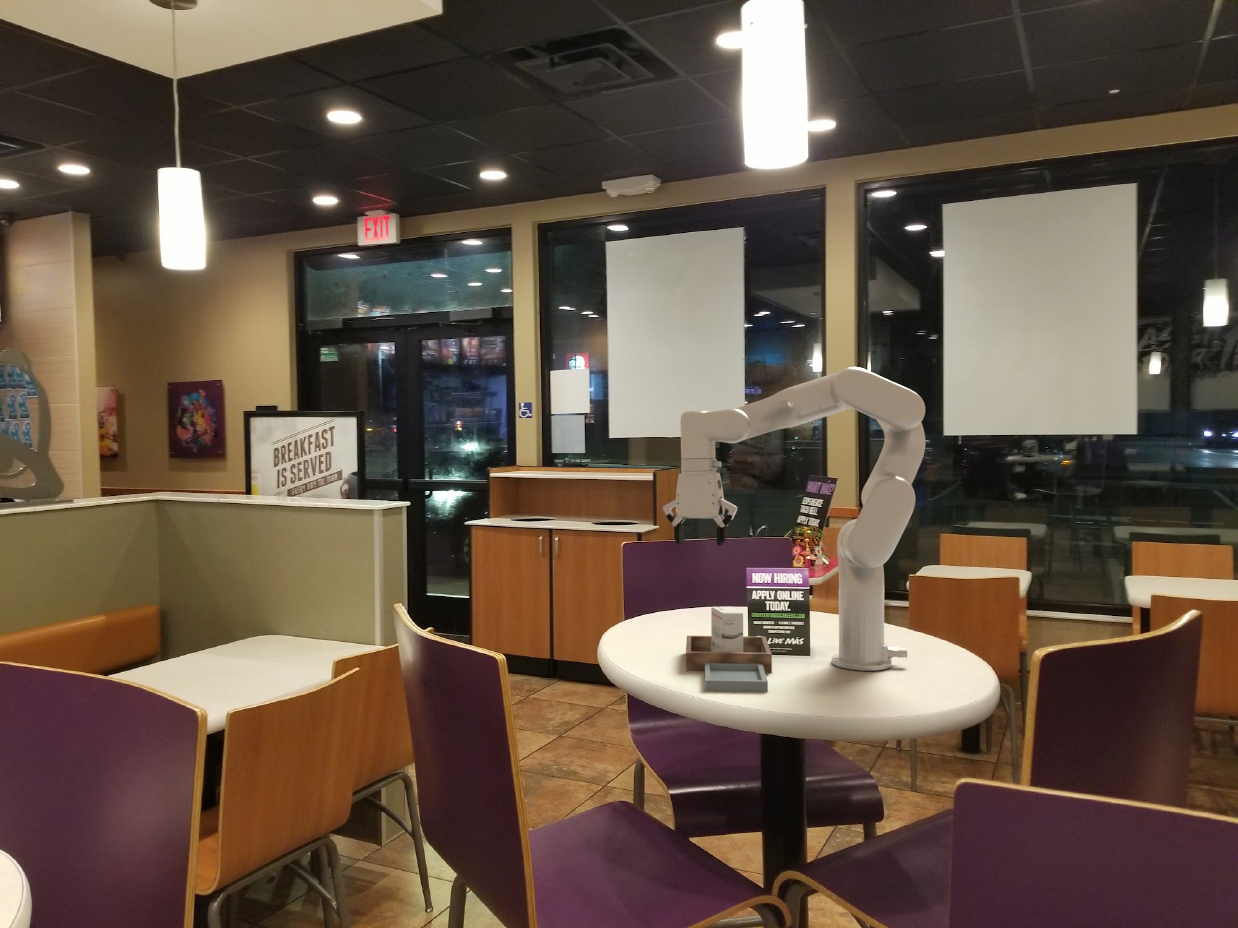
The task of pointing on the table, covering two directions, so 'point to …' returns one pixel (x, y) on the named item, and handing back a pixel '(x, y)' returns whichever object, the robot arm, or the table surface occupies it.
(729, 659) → the crate
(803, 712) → the table surface
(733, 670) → the tray
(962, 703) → the table surface
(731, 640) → the ink box
